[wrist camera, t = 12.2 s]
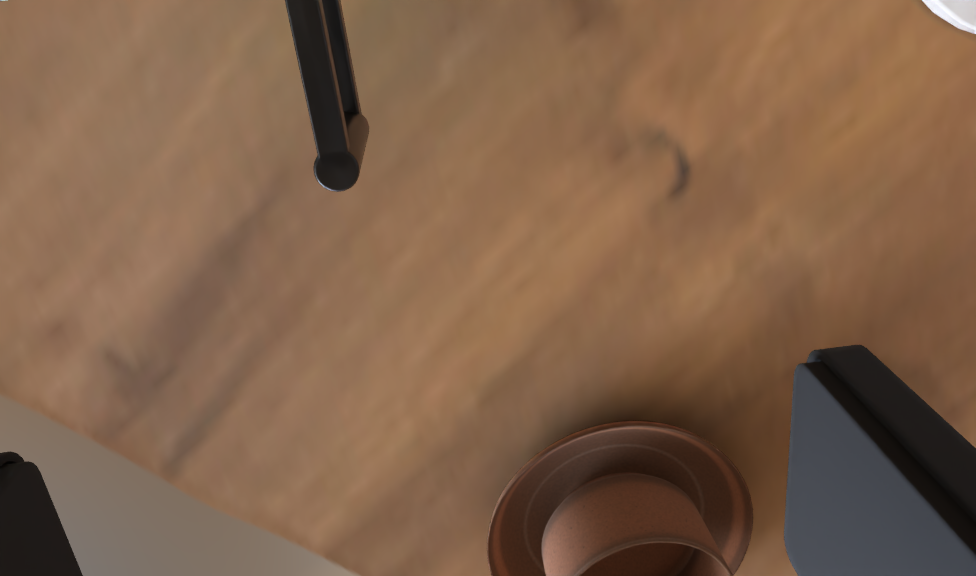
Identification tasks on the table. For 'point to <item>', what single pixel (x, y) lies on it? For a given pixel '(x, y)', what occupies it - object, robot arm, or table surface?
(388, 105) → the table surface
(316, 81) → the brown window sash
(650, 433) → the cup and saucer
